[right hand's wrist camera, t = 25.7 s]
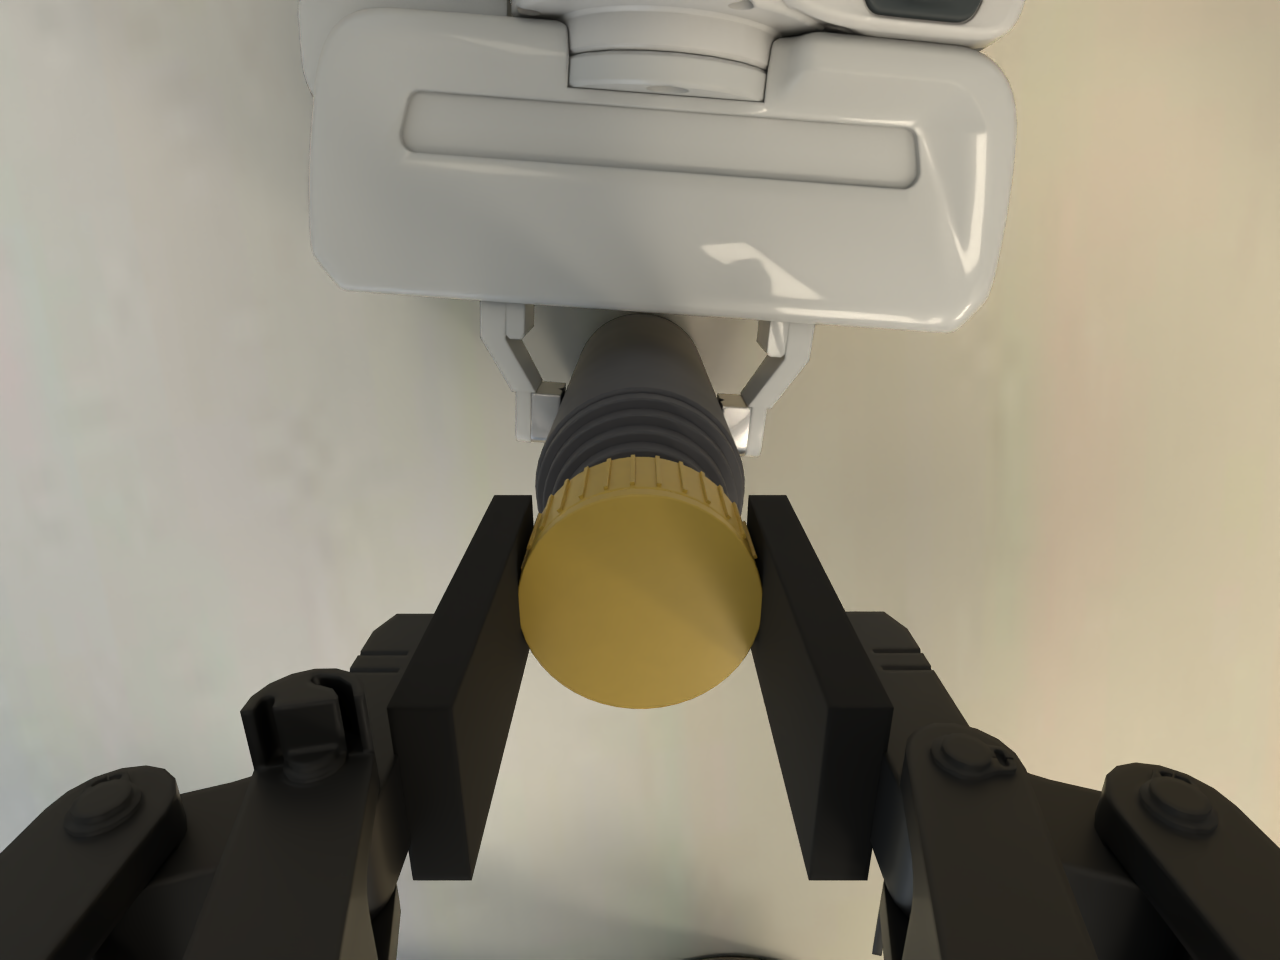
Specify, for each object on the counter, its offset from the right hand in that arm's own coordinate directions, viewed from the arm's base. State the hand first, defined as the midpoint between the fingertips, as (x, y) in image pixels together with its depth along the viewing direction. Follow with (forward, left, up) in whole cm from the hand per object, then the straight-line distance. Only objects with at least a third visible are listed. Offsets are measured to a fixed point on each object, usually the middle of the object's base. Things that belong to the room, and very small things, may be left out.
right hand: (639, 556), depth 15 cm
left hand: (-1, +1, -10) cm, 10 cm away
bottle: (0, 0, -17) cm, 17 cm away
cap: (0, 0, +2) cm, 2 cm away
